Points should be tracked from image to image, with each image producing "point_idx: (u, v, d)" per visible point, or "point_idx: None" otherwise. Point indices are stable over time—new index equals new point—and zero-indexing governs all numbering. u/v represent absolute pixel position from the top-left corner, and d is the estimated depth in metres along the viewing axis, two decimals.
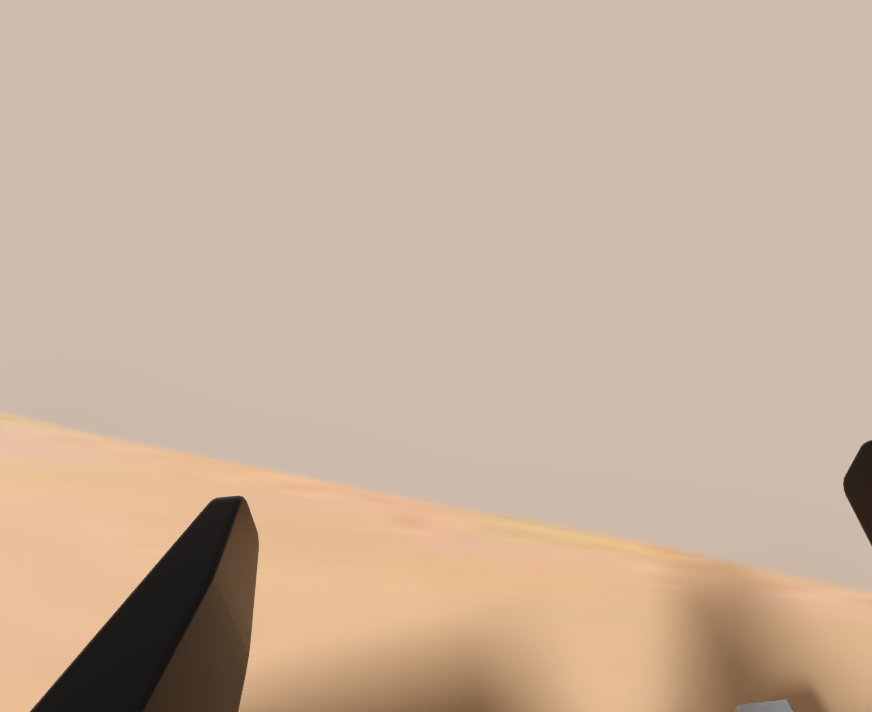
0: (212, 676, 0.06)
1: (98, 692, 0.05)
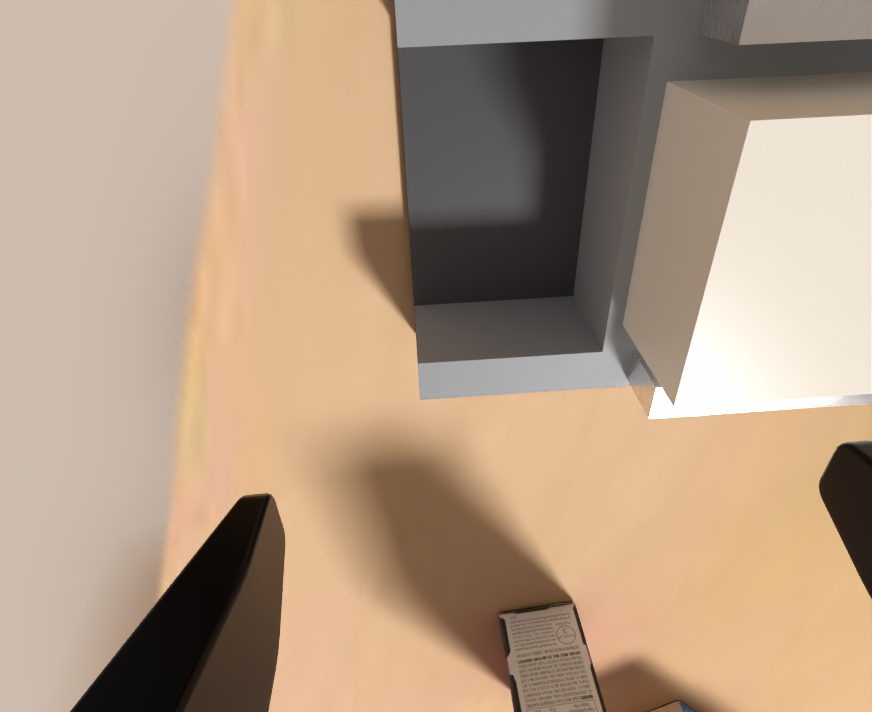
0: (246, 672, 0.07)
1: (141, 687, 0.05)
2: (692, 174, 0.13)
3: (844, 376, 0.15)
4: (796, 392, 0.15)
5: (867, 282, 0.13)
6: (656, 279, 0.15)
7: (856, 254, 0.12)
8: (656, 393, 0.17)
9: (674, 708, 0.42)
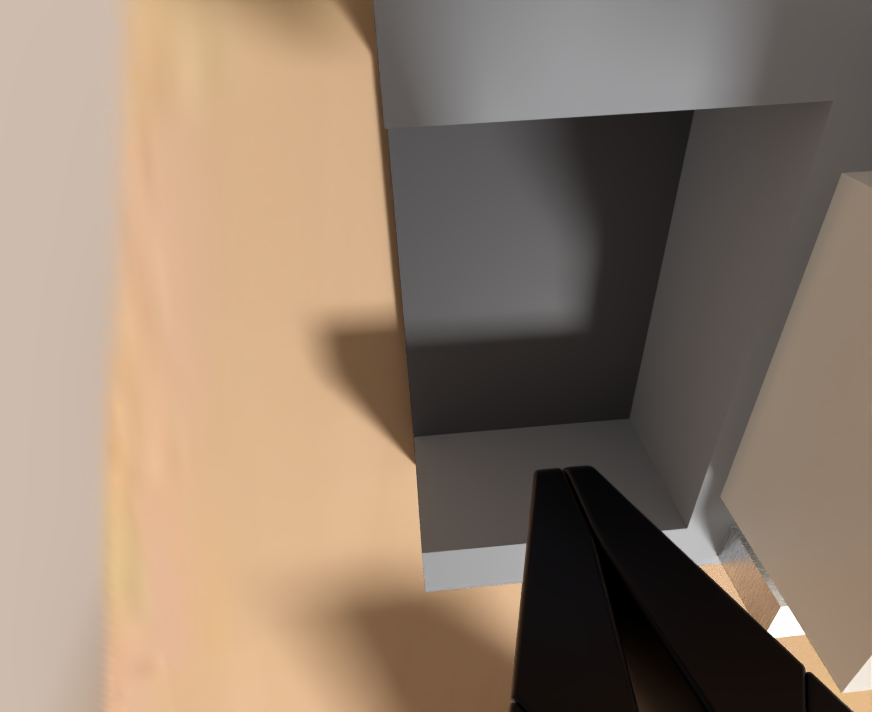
0: None
1: (572, 644, 0.05)
2: None
3: None
4: None
5: None
6: (802, 475, 0.10)
7: None
8: (779, 612, 0.11)
9: None
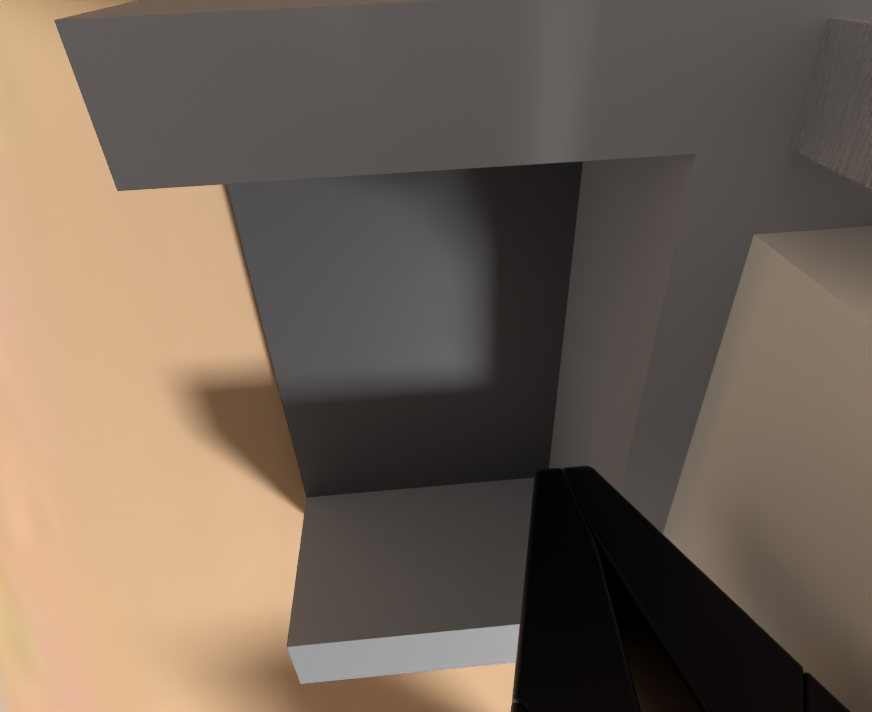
0: None
1: (574, 644, 0.05)
2: (832, 474, 0.06)
3: None
4: None
5: None
6: (722, 585, 0.08)
7: None
8: None
9: None
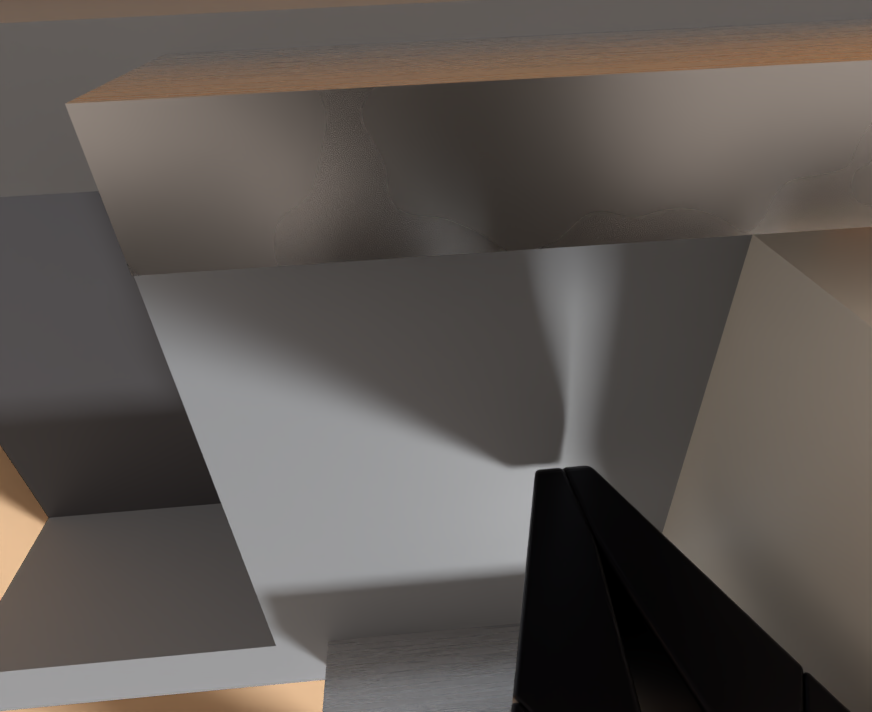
0: None
1: (574, 644, 0.05)
2: (829, 473, 0.06)
3: None
4: None
5: None
6: (720, 584, 0.08)
7: None
8: None
9: None
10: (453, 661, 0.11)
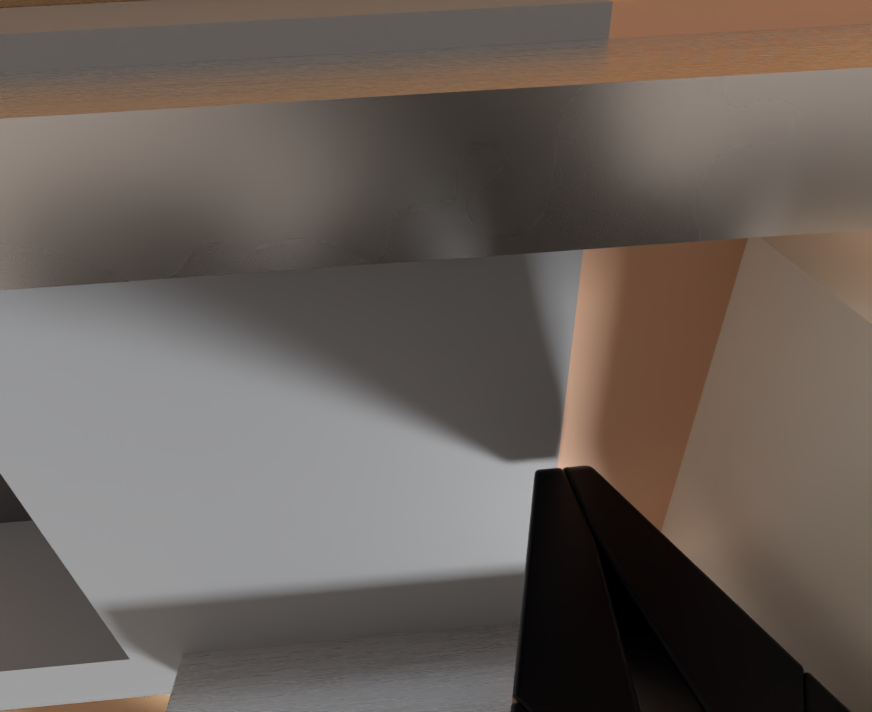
0: None
1: (574, 644, 0.05)
2: (827, 466, 0.06)
3: None
4: None
5: None
6: (719, 579, 0.08)
7: None
8: None
9: None
10: (302, 675, 0.11)
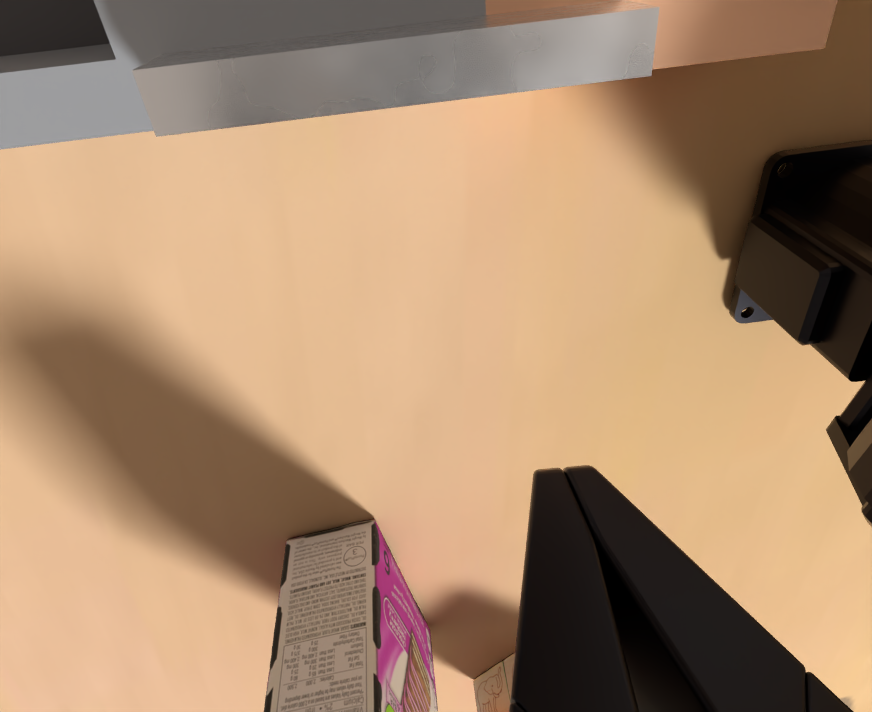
0: None
1: (572, 644, 0.05)
2: None
3: None
4: None
5: None
6: None
7: None
8: (138, 82, 0.11)
9: None
10: (269, 44, 0.12)
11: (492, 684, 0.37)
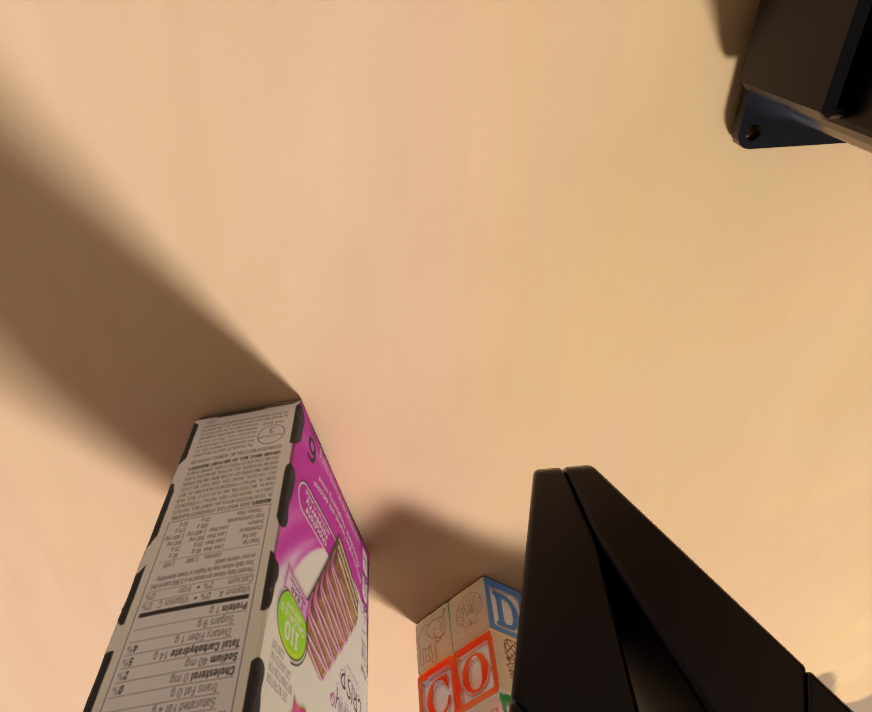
0: None
1: (572, 644, 0.05)
2: None
3: None
4: None
5: None
6: None
7: None
8: None
9: (477, 586, 0.32)
10: None
11: (434, 627, 0.33)
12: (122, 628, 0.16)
